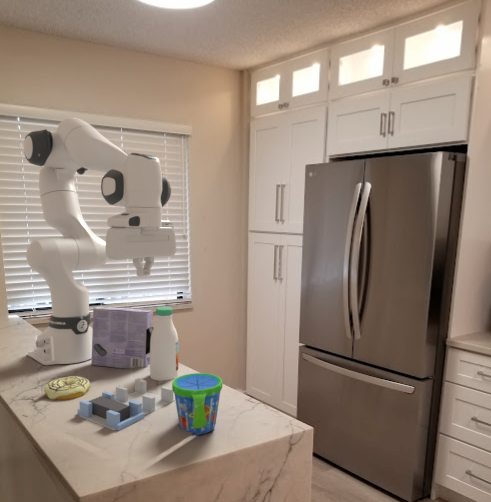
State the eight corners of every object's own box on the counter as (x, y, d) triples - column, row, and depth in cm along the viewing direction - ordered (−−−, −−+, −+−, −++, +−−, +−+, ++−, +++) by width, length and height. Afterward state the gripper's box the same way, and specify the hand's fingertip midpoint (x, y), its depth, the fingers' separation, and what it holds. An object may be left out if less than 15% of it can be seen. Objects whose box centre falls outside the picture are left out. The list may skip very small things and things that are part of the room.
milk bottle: (172, 385, 114) (172, 311, 113) (145, 382, 115) (145, 310, 114) (182, 375, 121) (182, 306, 120) (157, 373, 123) (156, 305, 122)
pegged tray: (75, 419, 93) (75, 401, 93) (137, 392, 108) (137, 377, 108) (116, 436, 86) (116, 416, 86) (177, 405, 101) (177, 388, 101)
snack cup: (176, 412, 97) (176, 368, 97) (222, 411, 98) (222, 368, 97) (167, 447, 82) (167, 396, 81) (222, 446, 82) (222, 395, 82)
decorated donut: (46, 408, 99) (46, 392, 99) (43, 392, 108) (42, 378, 108) (93, 399, 104) (92, 384, 104) (86, 385, 114) (85, 371, 113)
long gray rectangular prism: (88, 412, 94) (88, 401, 94) (101, 407, 97) (101, 396, 97) (117, 423, 89) (117, 411, 89) (129, 417, 92) (129, 405, 92)
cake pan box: (156, 366, 129) (156, 308, 128) (148, 371, 124) (148, 312, 123) (99, 361, 133) (99, 305, 132) (90, 366, 129) (89, 308, 128)
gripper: (164, 220, 114) (164, 271, 115) (101, 218, 97) (101, 278, 98) (182, 220, 111) (181, 273, 112) (119, 219, 94) (119, 281, 95)
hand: (143, 275), depth 105 cm, fingers closed
